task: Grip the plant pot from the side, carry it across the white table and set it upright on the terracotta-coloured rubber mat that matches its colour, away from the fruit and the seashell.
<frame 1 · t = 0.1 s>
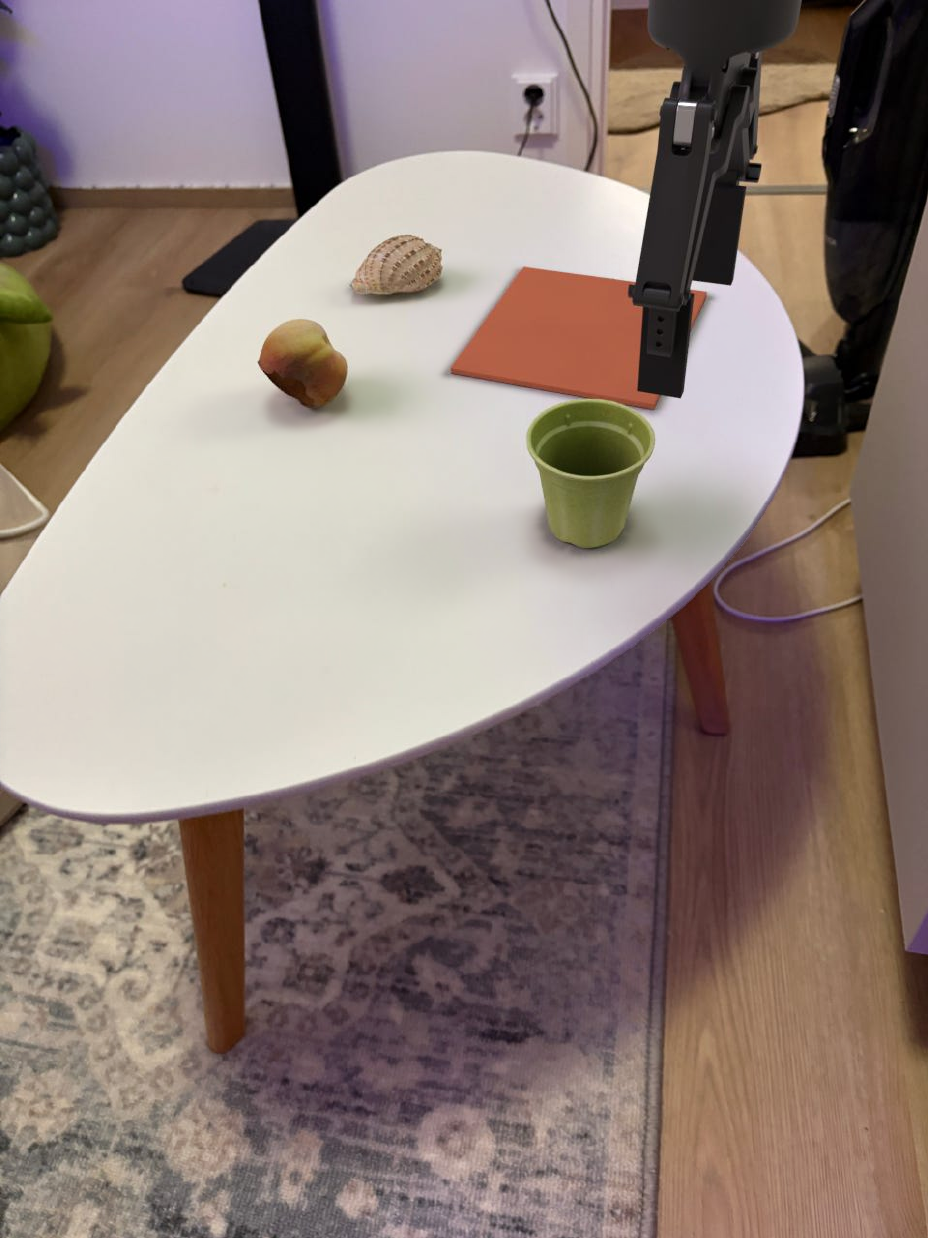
hand: (688, 332, 61), 17 cm above the table, tool pointing down, fingers open, 13 cm apart
plant pot: (587, 524, 76), on the table
terracotta mat: (582, 333, 93), on the table
fruit: (312, 402, 90), on the table
seashell: (397, 290, 102), on the table
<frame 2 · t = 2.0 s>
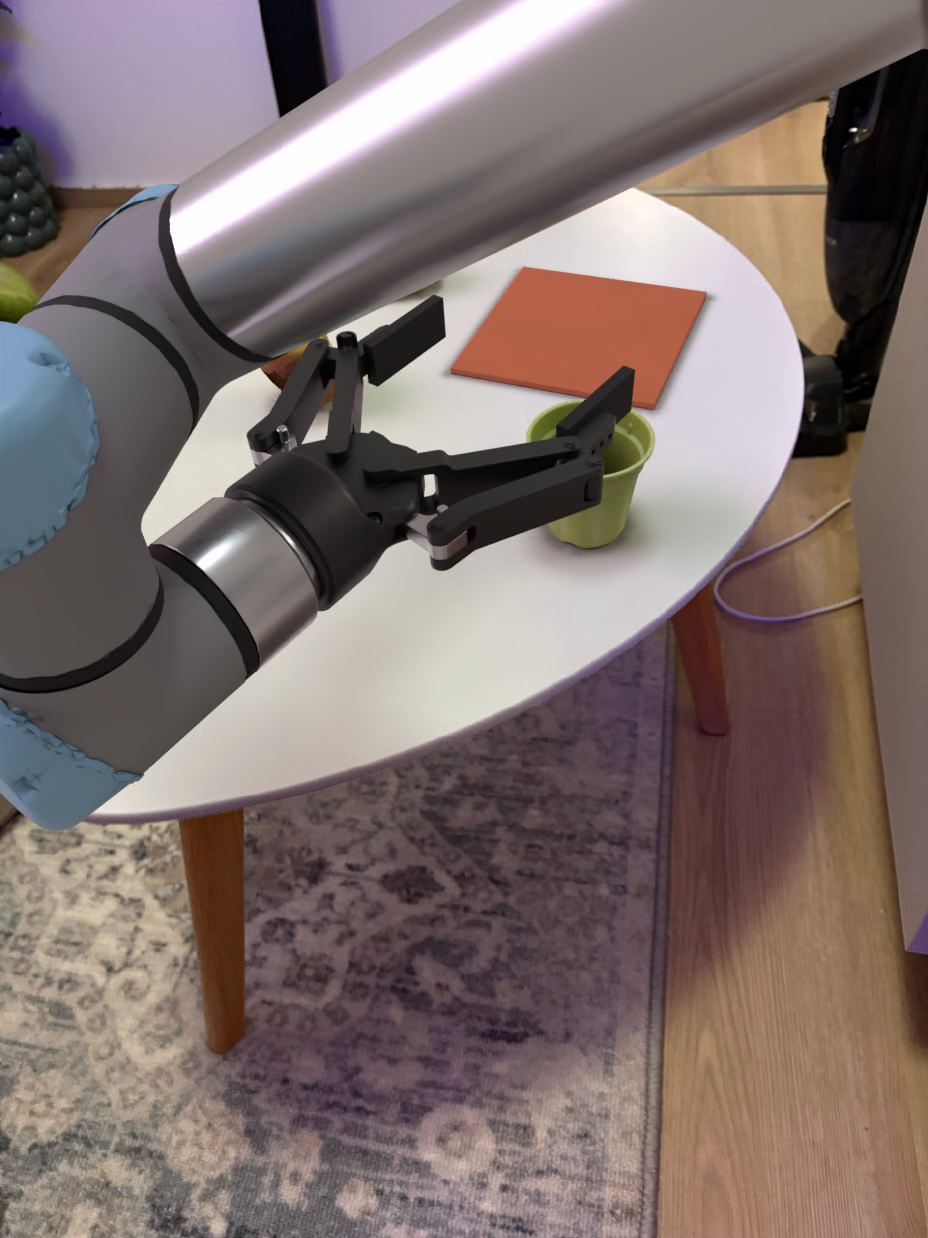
hand: (529, 349, 56), 21 cm above the table, tool horizontal, fingers open, 13 cm apart
nothing on the table moved.
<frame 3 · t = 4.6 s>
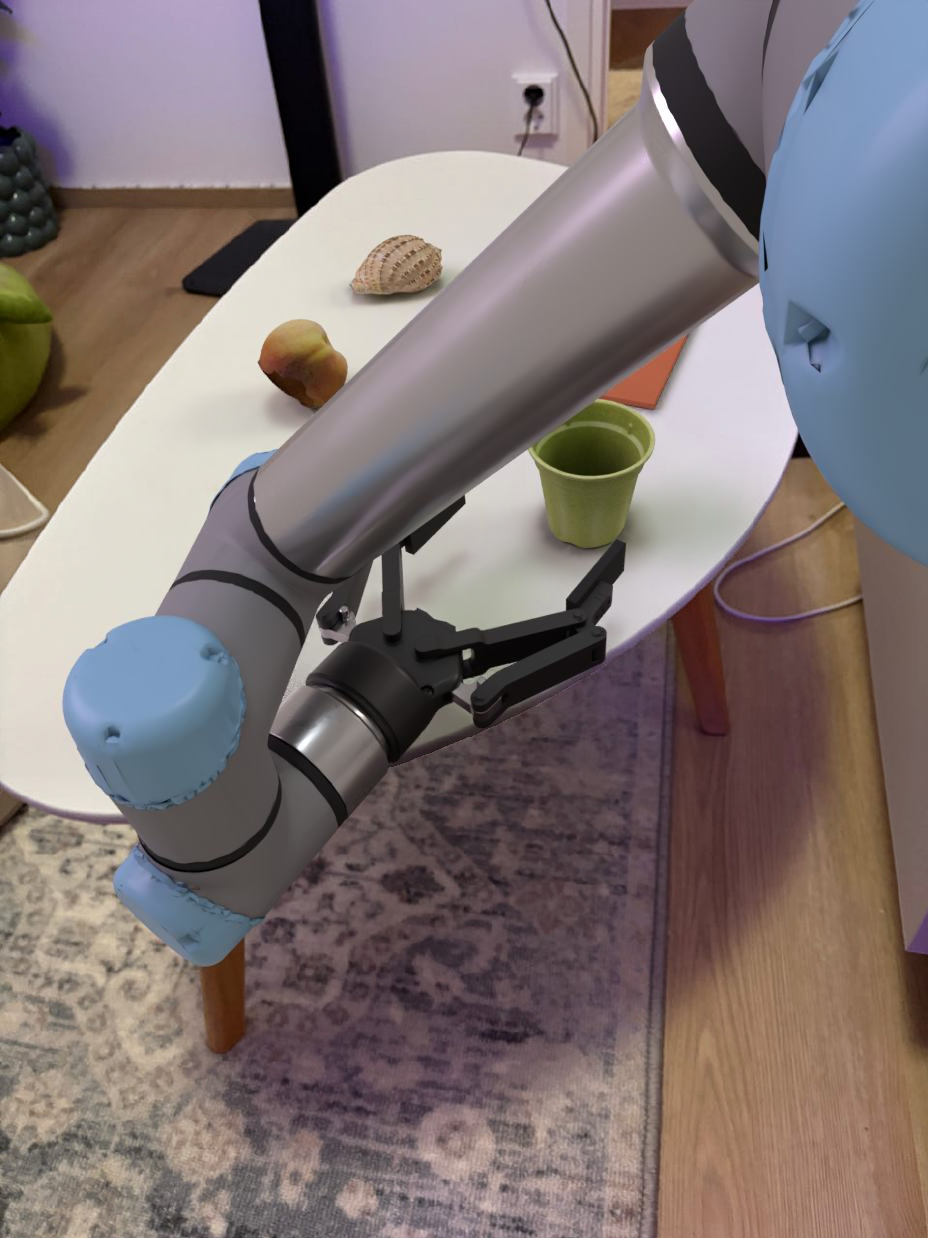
hand: (537, 519, 67), 6 cm above the table, tool horizontal, fingers open, 13 cm apart
nothing on the table moved.
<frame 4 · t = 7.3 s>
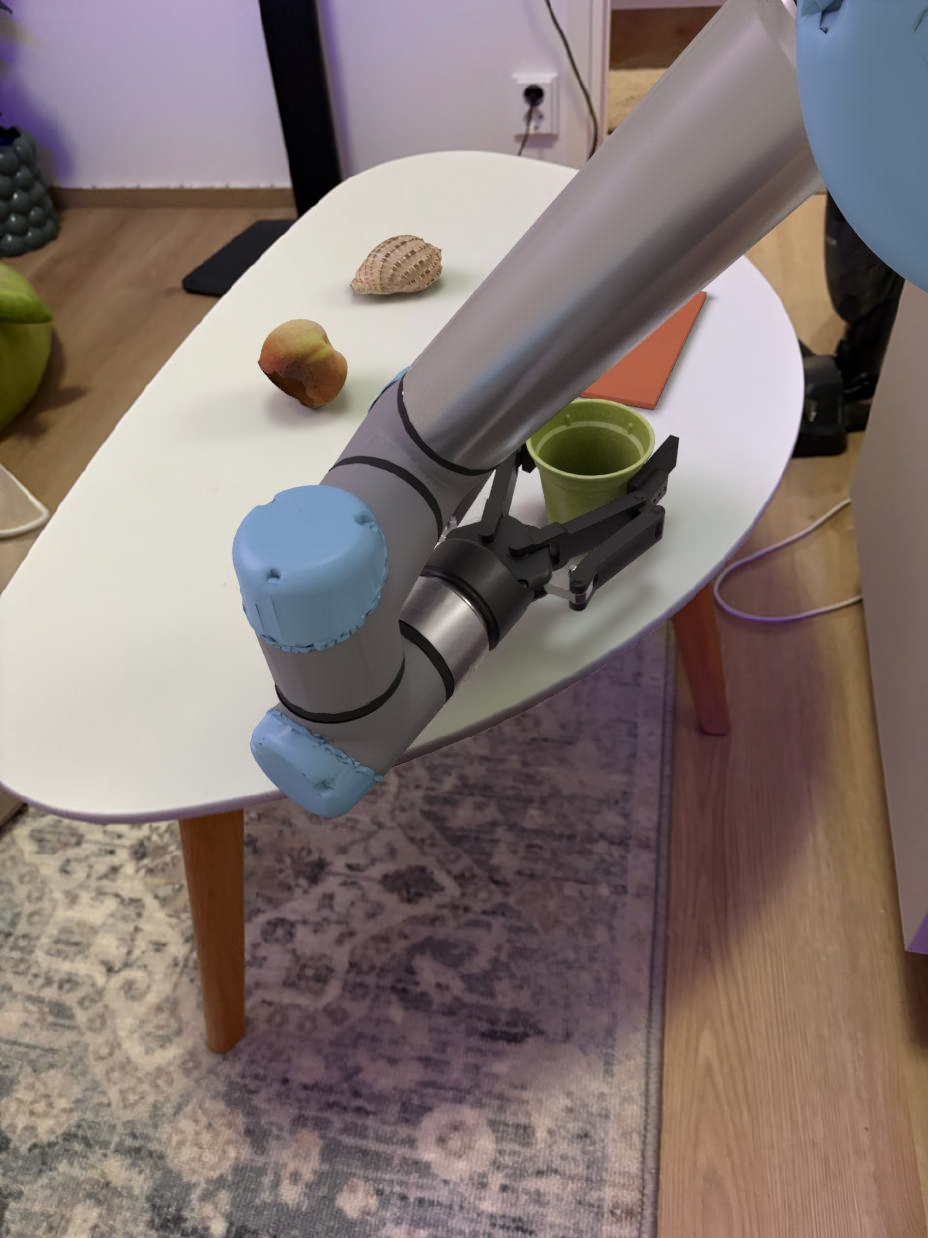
hand: (620, 431, 73), 6 cm above the table, tool horizontal, fingers closed on plant pot, 8 cm apart
plant pot: (587, 524, 76), on the table, touching gripper
everything else where it was.
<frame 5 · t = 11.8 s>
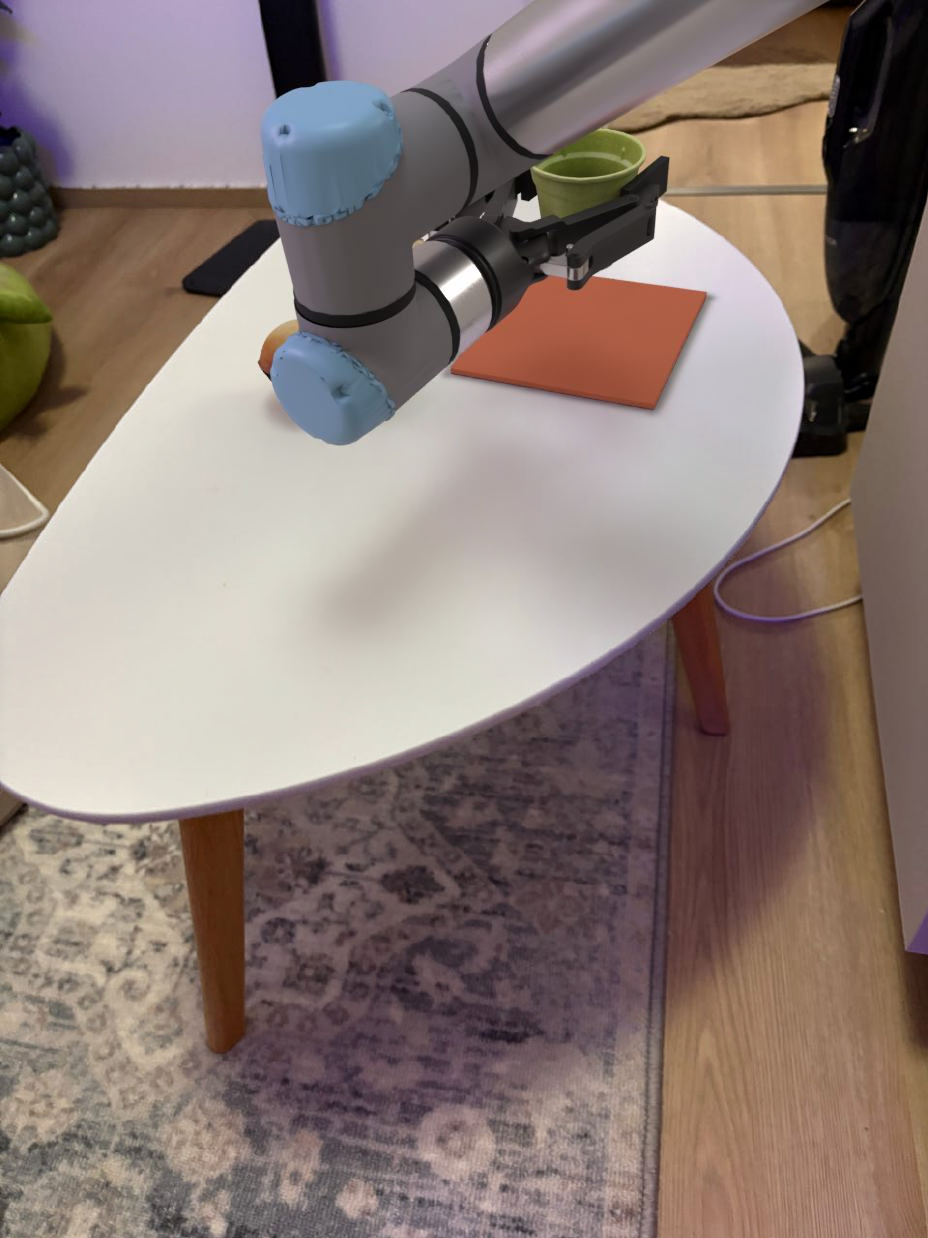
hand: (613, 162, 77), 18 cm above the table, tool horizontal, fingers closed on plant pot, 8 cm apart
plant pot: (583, 259, 80), point 12 cm above the table, touching gripper
everything else where it was.
when the fingers open (7 cm above the table, at t = 16.3 s): plant pot stays where it is, resting on terracotta mat.
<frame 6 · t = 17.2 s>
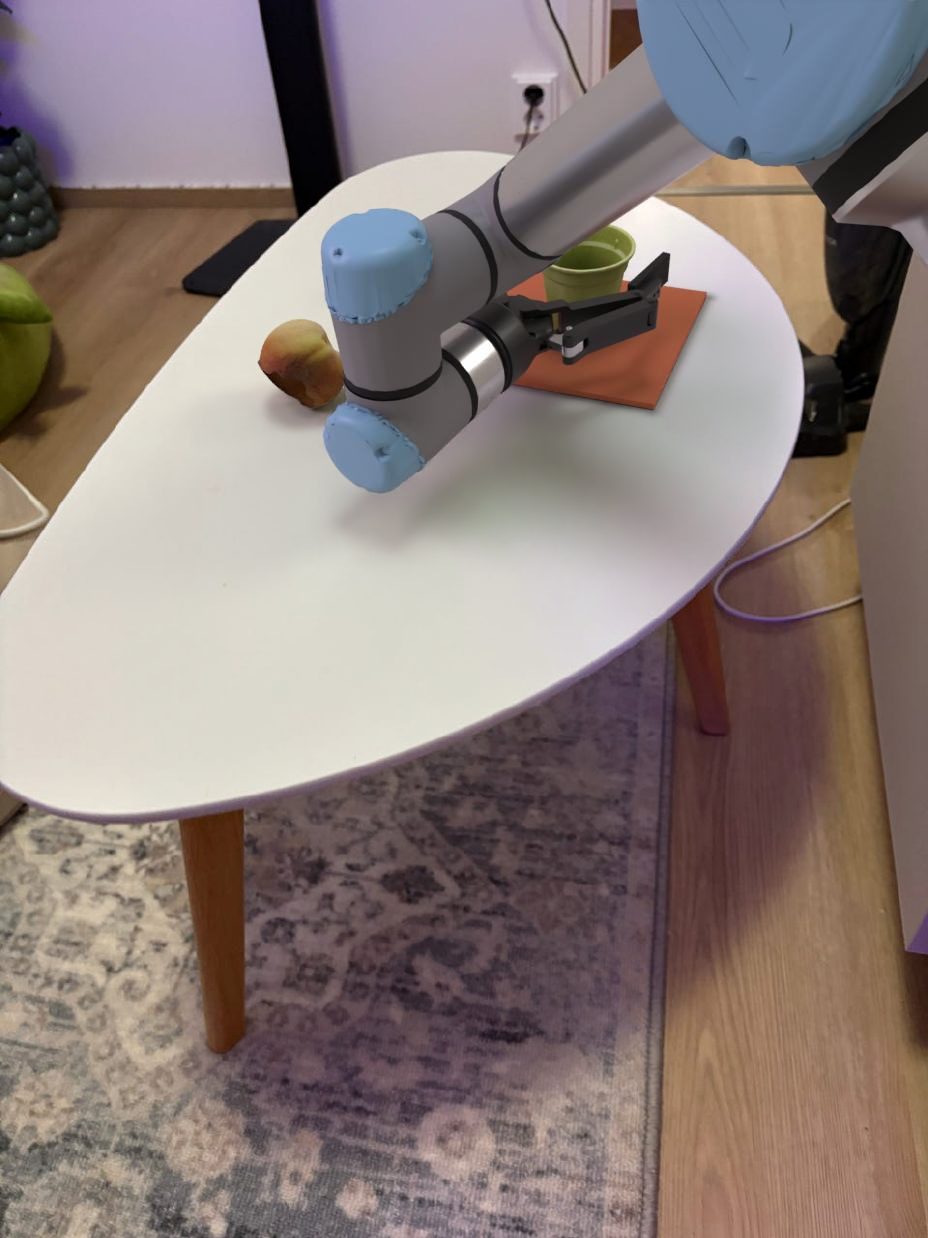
hand: (601, 249, 90), 7 cm above the table, tool horizontal, fingers open, 13 cm apart
plant pot: (582, 330, 93), resting on terracotta mat
everything else where it was.
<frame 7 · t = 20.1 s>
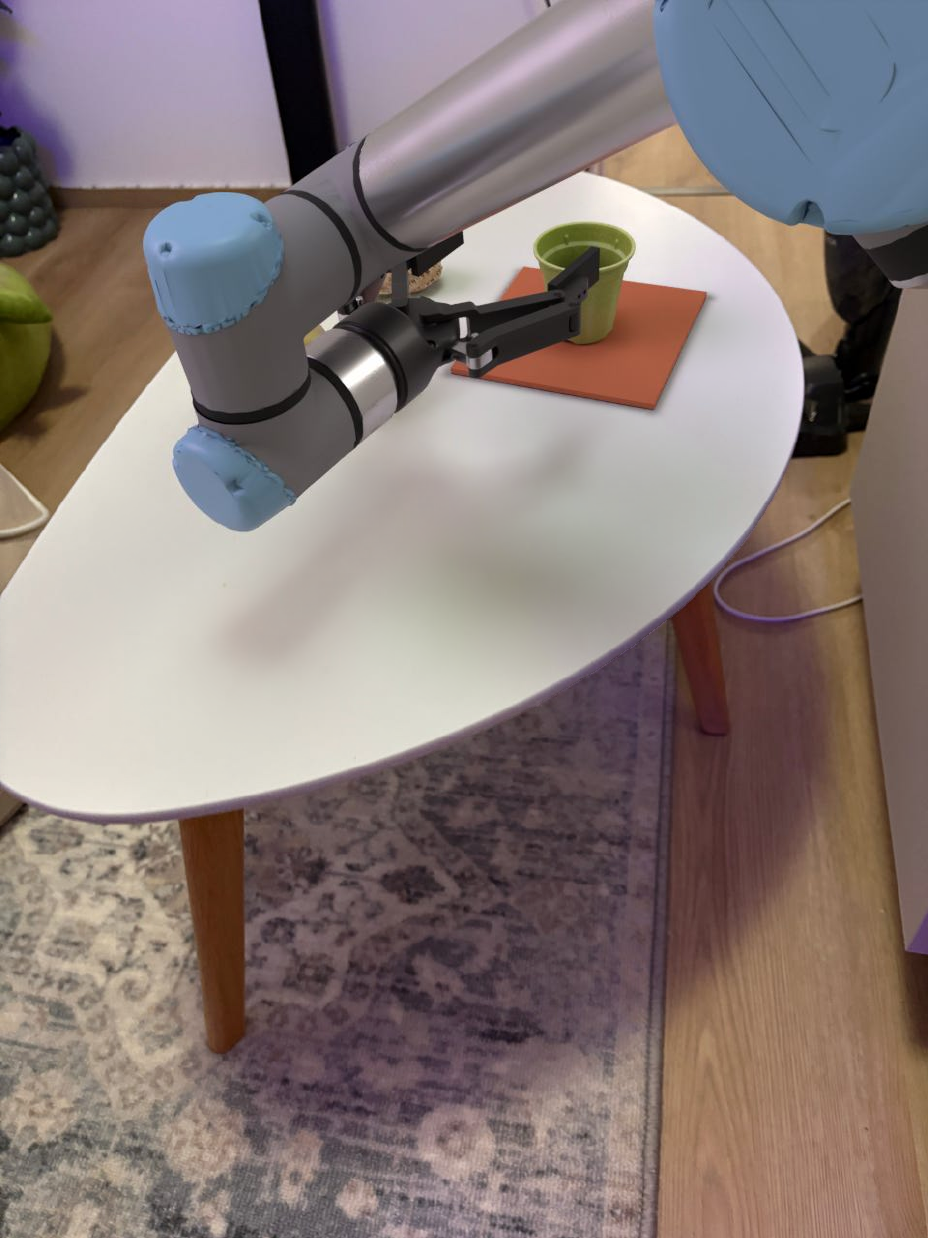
hand: (525, 244, 78), 14 cm above the table, tool horizontal, fingers open, 13 cm apart
nothing on the table moved.
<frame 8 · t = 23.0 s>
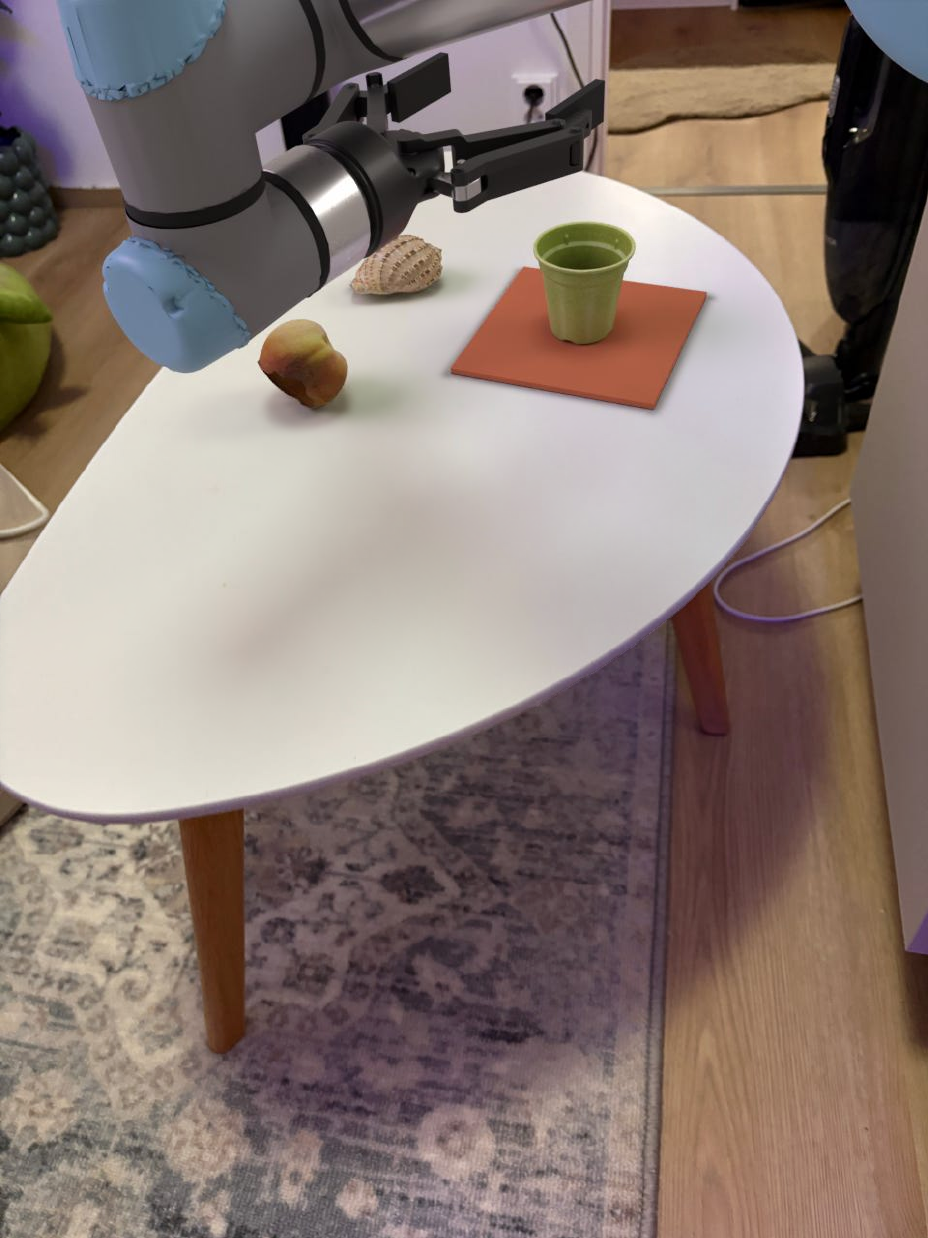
hand: (519, 85, 69), 26 cm above the table, tool horizontal, fingers open, 13 cm apart
nothing on the table moved.
at the end: plant pot inside the target area on the terracotta mat (0.0 cm from its centre), point 0.4 cm above the terracotta mat's base; plant pot tilted 0°; the gripper is holding nothing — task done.
